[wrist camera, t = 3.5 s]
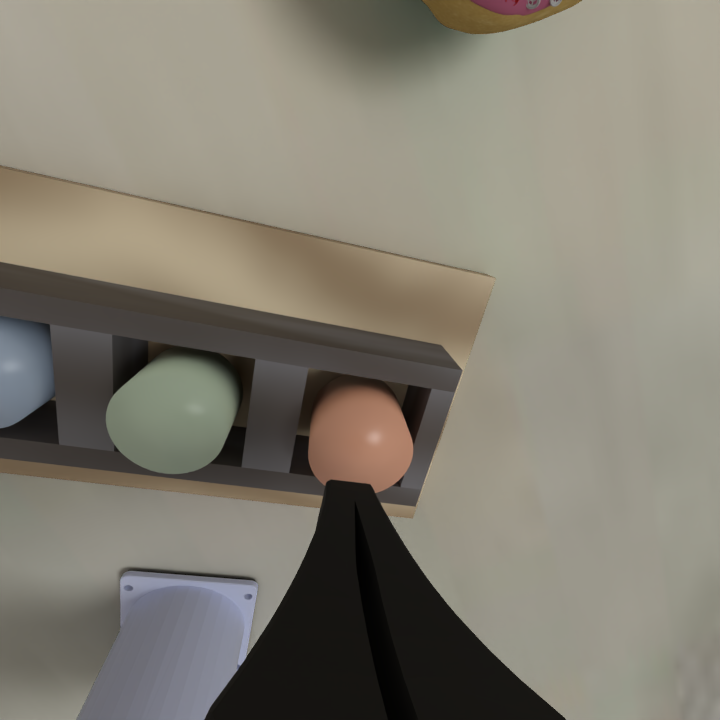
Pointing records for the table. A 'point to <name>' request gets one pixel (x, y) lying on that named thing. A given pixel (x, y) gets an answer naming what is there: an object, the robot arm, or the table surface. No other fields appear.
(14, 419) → the slate button
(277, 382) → the button panel
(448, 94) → the table surface
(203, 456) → the sage button
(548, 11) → the cupcake
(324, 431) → the terracotta button
